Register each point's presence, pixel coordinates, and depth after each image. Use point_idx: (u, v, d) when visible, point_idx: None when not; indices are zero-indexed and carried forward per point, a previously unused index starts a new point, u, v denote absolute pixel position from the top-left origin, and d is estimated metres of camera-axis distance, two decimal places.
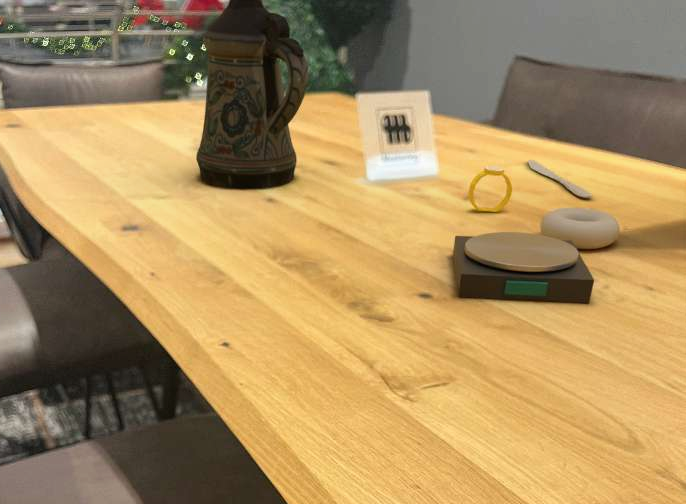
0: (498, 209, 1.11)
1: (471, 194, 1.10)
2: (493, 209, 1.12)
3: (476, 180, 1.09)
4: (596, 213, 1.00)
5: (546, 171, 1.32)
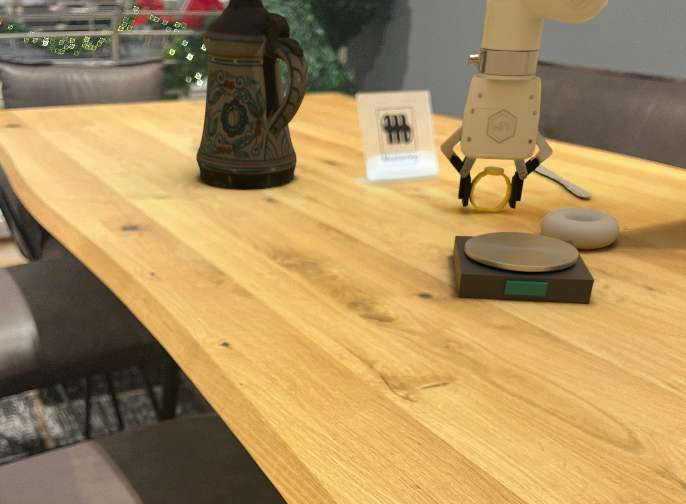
0: (498, 209, 1.11)
1: (471, 194, 1.10)
2: (493, 209, 1.12)
3: (476, 180, 1.09)
4: (596, 213, 1.00)
5: (546, 171, 1.32)
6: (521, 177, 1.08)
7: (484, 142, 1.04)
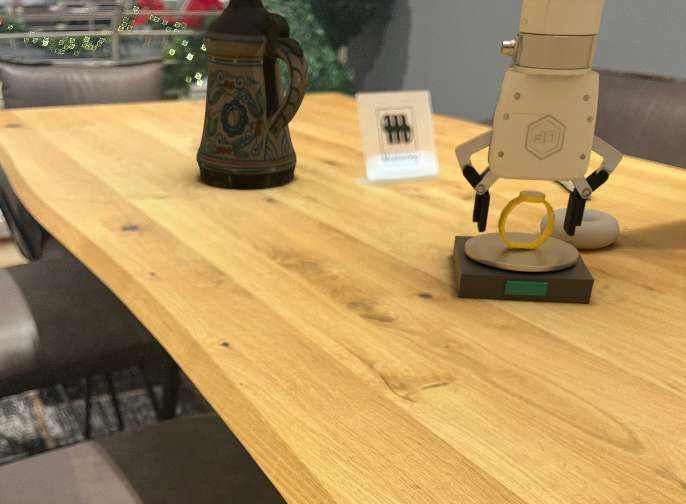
0: (536, 246, 0.86)
1: (502, 227, 0.84)
2: (530, 245, 0.86)
3: (509, 209, 0.83)
4: (596, 213, 1.00)
5: None
6: (583, 195, 0.81)
7: (521, 158, 0.79)
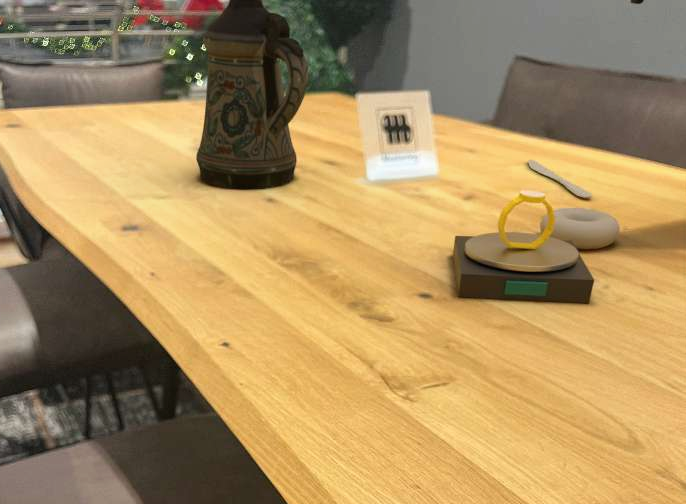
0: (536, 246, 0.86)
1: (502, 227, 0.84)
2: (530, 245, 0.86)
3: (509, 209, 0.83)
4: (596, 213, 1.00)
5: (546, 171, 1.32)
6: None
7: None
